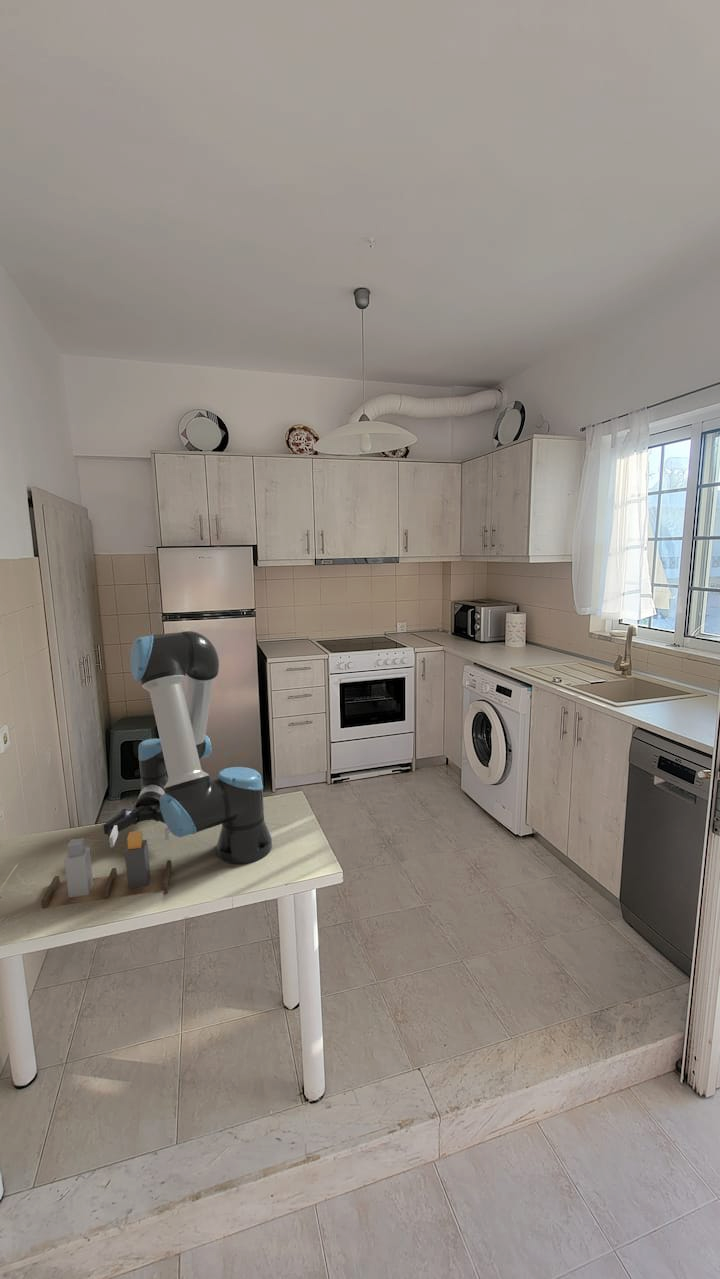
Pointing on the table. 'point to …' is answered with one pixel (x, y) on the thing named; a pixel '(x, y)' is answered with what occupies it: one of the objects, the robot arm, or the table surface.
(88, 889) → the grey plug
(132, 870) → the charcoal plug
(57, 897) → the brown wooden tray
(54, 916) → the table surface
